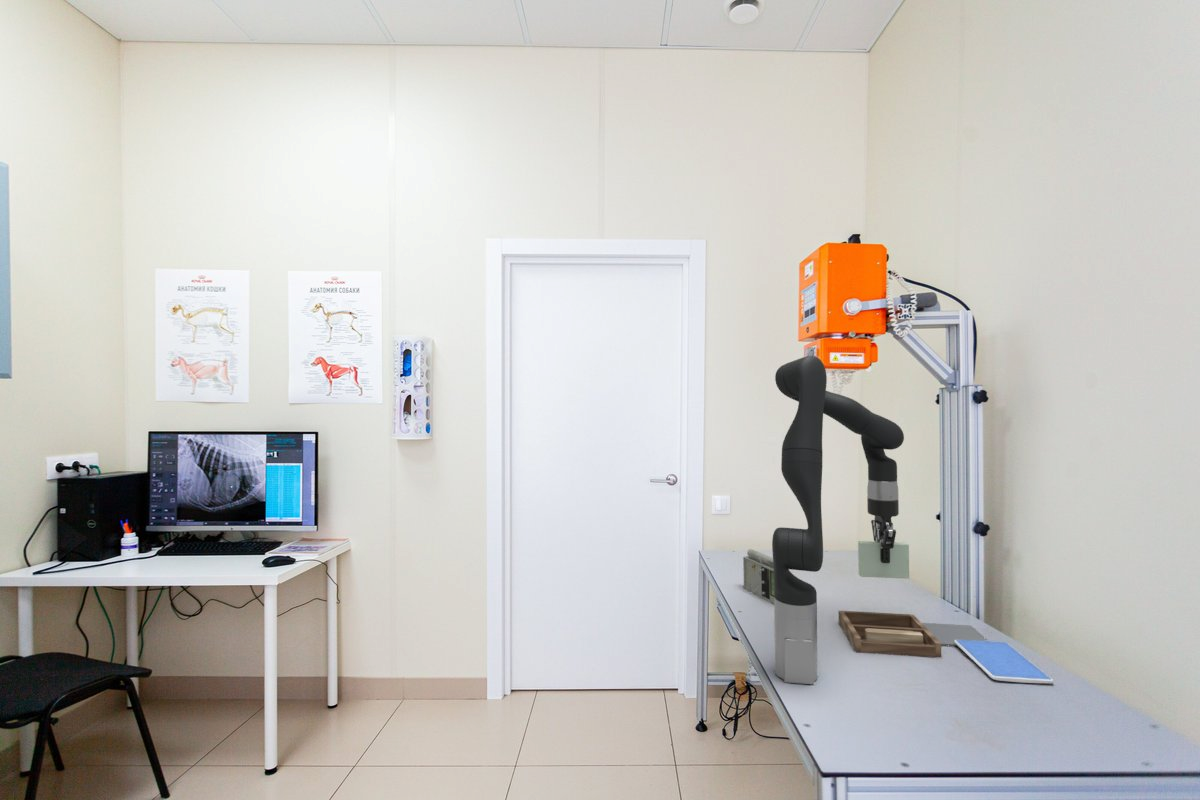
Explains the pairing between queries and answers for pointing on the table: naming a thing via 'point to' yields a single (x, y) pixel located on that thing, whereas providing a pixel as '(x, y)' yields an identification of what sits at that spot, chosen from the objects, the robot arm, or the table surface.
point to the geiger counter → (759, 575)
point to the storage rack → (860, 621)
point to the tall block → (875, 568)
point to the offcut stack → (893, 636)
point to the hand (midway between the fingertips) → (883, 560)
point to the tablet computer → (1002, 661)
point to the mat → (953, 633)
